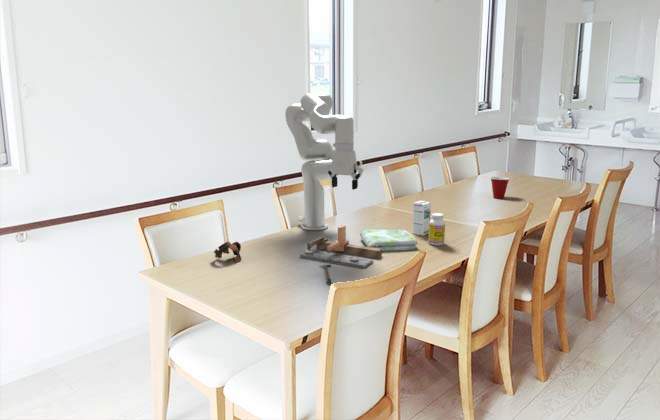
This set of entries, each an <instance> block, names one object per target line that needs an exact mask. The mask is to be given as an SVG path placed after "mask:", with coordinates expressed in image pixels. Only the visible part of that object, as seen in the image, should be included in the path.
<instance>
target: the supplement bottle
mask: <svg viewBox="0 0 660 420" xmlns="http://www.w3.org/2000/svg"><path fill="white" fill-rule="evenodd" d="M431 218H432V219H430V222H429V233H428V244H430V245H432V246H443V245H444V244H445V236H446V234H445V233H446V221H445V220H444V214H443V213H440V212H436V213H435V212H434V213H432V214H431Z"/></svg>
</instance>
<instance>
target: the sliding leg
mask: <svg viewBox="0 0 660 420" xmlns="http://www.w3.org/2000/svg"><path fill="white" fill-rule="evenodd" d="M346 228H347V226H346V225H343V224H342V225H340V226H339V227H337V240H335V241H333V242H334V243H332V244H330V245H328V246H327V250H326V252H327V253H332V251H331V250H333V249H334V250H336V251H344V245H345V244H350V240H348V239H346V236H347V235H346V234H347V231H346V230H347V229H346ZM336 251H335V252H336Z"/></svg>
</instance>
